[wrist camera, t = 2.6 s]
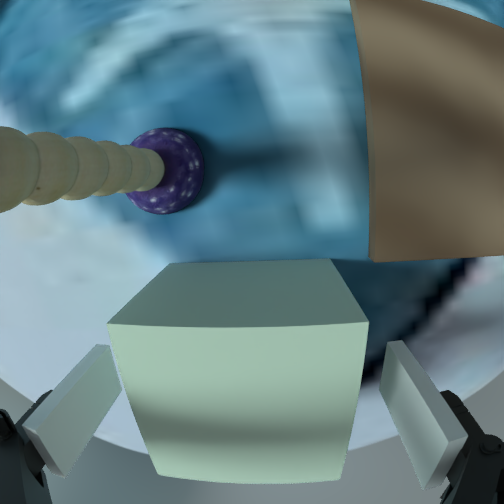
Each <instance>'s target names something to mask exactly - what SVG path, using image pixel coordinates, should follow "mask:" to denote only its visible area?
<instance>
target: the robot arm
mask: <svg viewBox="0 0 504 504" xmlns="http://www.w3.org/2000/svg"><path fill="white" fill-rule="evenodd" d="M379 390H380V392H381V394H382V397H383V399H384V401H385V403H386V405H387V408H388V410H389V412H390V414H391V417H392V419H393V421H394V423H395V426H396V428H397V430H398V432H399V435H400V437H401V439H402V442H403V444H404V446H405V449H406V451H407V453H408V456H409V458H410V461H411V463H412V465H413V468H414V470H415V473H416V475H417V477H418V480H419V483H420V485H421V488H422V490H423V491H424V490H427V489H430V488H433V487H437V486H440V485H441V484H442V483H443V481H444V479H445V477H446V476H447V477H448V480H449V482H450V484H449V485H448V487H447V488H446V490H445V491H444V493H443V494H442V496H441V497H440V498H441V499H442V500H441V502H440V504H504V442H502V440H501V439H500V438H498V437H497V436H493V435H487V434H484V432H483V431H482V429H481V428H480V426H479V425H478V423H477V422H476V421H475V419H474V418H473V416H472V415H471V414H470V412H468V409H467V408H466V407H465V406H464V405H463V403H462V401H461V400H460V398H459V397H458V396H457V395H455V394H454V393H452V392H451V391H449V390H446V391H442V392H439V391H438V389H437V388H436V387H435V385H434V384H433V382H432V381H431V379H430V378H429V377H428V375H427V374H426V372H425V371H424V370H423V368H422V367H421V365H420V364H419V363H418V361H417V360H416V358H415V357H414V356H413V354H412V353H411V352H410V350H409V349H408V348H407V346H406V345H405V343H404V342H403V341H402V340H399V341H391V342H387V346H386V353H385V359H384V365H383V371H382V376H381V382H380V387H379ZM121 391H122V388H121V385H120V381H119V378H118V375H117V371H116V368H115V365H114V361H113V357H112V354H111V350H110V346H109V345H99V344H96V345H95V347H94V348H93V349H92V350H91V351H90V352H89V353H88V354H87V355H86V356H85V357H84V358H83V359H82V360H81V361H80V362H79V363H78V364H77V365H76V366H75V367H74V368H73V370H72V371H71V372H70V373H69V374H68V375H67V376H66V377H65V378H64V379H63V380H62V381H61V382H60V383H59V384H58V386H57V387H56V388H55V389H54V390H50V391H48V392H46V393H45V394H43V395H42V396H41V397H40V398H39V399H38V400H37V401H36V403H34V404H33V406H31V409H29V410H28V411H27V412H26V413H25V414H24V415H23V416H22V417H21V419H20V420H19V421H18V422H17V423H16V424H15V425H14V423H13V421H12V419H11V418H10V416H9V414H8V413H7V412H6V410H3V409H0V504H52V501H51V497H50V493H49V489H48V484H47V480H46V475H45V473H44V471H43V469H42V468H43V466H44V465H45V464H46V465H47V467H48V468H49V470H50V471H51V473H53V474H55V475H58V476H61V477H63V478H66V477H67V476H68V474H69V472H70V471H71V469H72V468H73V466H74V464H75V463H76V461H77V459H78V458H79V456H80V455H81V453H82V451H83V450H84V448H85V447H86V445H87V444H88V442H89V440H90V439H91V437H92V436H93V434H94V433H95V431H96V429H97V428H98V426H99V425H100V423H101V422H102V420H103V418H104V417H105V415H106V414H107V412H108V411H109V409H110V408H111V406H112V405H113V403H114V402H115V400H116V398H117V397H118V395H119V394H120V392H121Z"/></svg>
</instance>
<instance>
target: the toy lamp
mask: <svg viewBox="0 0 504 504" xmlns="http://www.w3.org/2000/svg"><path fill="white" fill-rule="evenodd" d="M203 177H204V160H203V157H202V154H201V151H200V149H199V147H198V145H197V143H195V142H194V140H193V139H192V138H191V137H190V136H188V135H187V134H185V133H184V132H181V131H179V130H176V129H172V128H157V129H153V130H150V131H147V132H145V133H144V134H142V135H140V136H139V137H137V138H136V139H135V140H134V141H133V142H132V143H131V144H130V145H119V144H117V143H115V142H111V141H97V142H95V141H93V140H91V139H88V138H85V137H69V138H65V139H64V138H63V137H61V136H60V135H57V134H55V133H50V132H34V133H31V134H28V135H25V134H24V133H22V132H21V131H19V130H16V129H13V128H10V127H4V126H0V213H2V212H5V211H8V210H10V209H12V208H14V207H16V206H17V205H19V204H20V203H21V202H22V203H24V204H27V205H45V204H49V203H52V202H54V201H56V200H58V199H60V198H61V199H65V200H81V199H84V198H87V197H89V196H91V195H96V196H108V195H111V194H114V193H116V192H118V193H126V195H127V196H128V198H129V199H130V200H131V201H132V202H133V203H134V204H135V205H136V206H137V207H139V208H140V209H142V210H144V211H147V212H150V213H153V214H170V213H173V212H176V211H179V210H180V209H182V208H184V207H185V206H187V205H188V204H189V203H190V202H191V201H192V200H193V199H194V198H195V197H196V195H197V194H198V192H199V190H200V189H201V185H202V182H203Z"/></svg>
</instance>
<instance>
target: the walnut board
mask: <svg viewBox="0 0 504 504" xmlns="http://www.w3.org/2000/svg"><path fill="white" fill-rule="evenodd" d="M349 1H350V5H351V11H352V16H353V21H354V27H355V33H356V39H357V45H358V52H359V59H360V66H361V74H362V82H363V91H364V101H365V113H366V125H367V141H368V161H369V254H368V257H369V258H370V259H371V260H372V261H373V262H395V261H415V260H434V259H452V258H469V257H485V256H501V255H504V28H502V27H499V26H497V25H495V24H492V23H490V22H487V21H485V20H482V19H480V18H477V17H474V16H472V15H469V14H466V13H463V12H460V11H457V10H454V9H451V8H448V7H444V6H441V5H437V4H434V3H430V2H426V1H422V0H349Z"/></svg>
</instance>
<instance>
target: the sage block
mask: <svg viewBox="0 0 504 504" xmlns="http://www.w3.org/2000/svg"><path fill="white" fill-rule="evenodd" d="M368 326H369V321H368V319H367V318H366V316H365V314H364V313H363V311H362V309H361V308H360V306H359V304H358V303H357V301H356V299H355V298H354V296H353V295H352V293H351V291H350V290H349V288H348V286H347V285H346V283H345V282H344V280H343V279H342V277H341V275H340V274H339V272H338V271H337V269H336V267H335V266H334V264H333V263H332V261H331V260H330V258H329V259H301V260H271V261H240V262H206V263H170V264H169V265H168V266H166V267H165V268H164V269H163V270H162V271H161V272H160V273H159V274H158V275H157V276H156V277H155V278H154V279H152V280H151V281H150V282H149V283H148V284H147V285H146V286H145V287H144V288H143V289H142V290H141V291H140V292H139V293H138V294H137V295H135V296H134V297H133V298H132V299H131V300H130V301H129V302H128V303H127V304H126V305H125V306H124V307H123V308H122V309H121V310H120V311H119V312H118V313H117V314H116V315H115V316H114V317H113V318H112V319H111V320H110V321H109V322H108V323H107V328H108V332H109V336H110V340H111V343H112V347H113V351H114V354H115V358H116V361H117V365H118V368H119V372H120V375H121V378H122V381H123V384H124V388H125V391H126V394H127V397H128V400H129V403H130V405H131V408H132V411H133V414H134V417H135V419H136V422H137V425H138V427H139V430H140V433H141V435H142V438H143V440H144V443H145V445H146V447H147V450H148V452H149V455H150V457H151V459H152V462H153V464H154V466H155V468H156V471H157V473H158V474H159V475H164V476H170V477H177V478H184V479H192V480H201V481H211V482H226V483H245V484H286V483H307V482H320V481H331V480H340V476H341V472H342V469H343V465H344V461H345V457H346V453H347V449H348V445H349V440H350V436H351V431H352V427H353V422H354V417H355V412H356V407H357V401H358V396H359V390H360V384H361V378H362V372H363V365H364V358H365V351H366V343H367V335H368Z"/></svg>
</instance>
